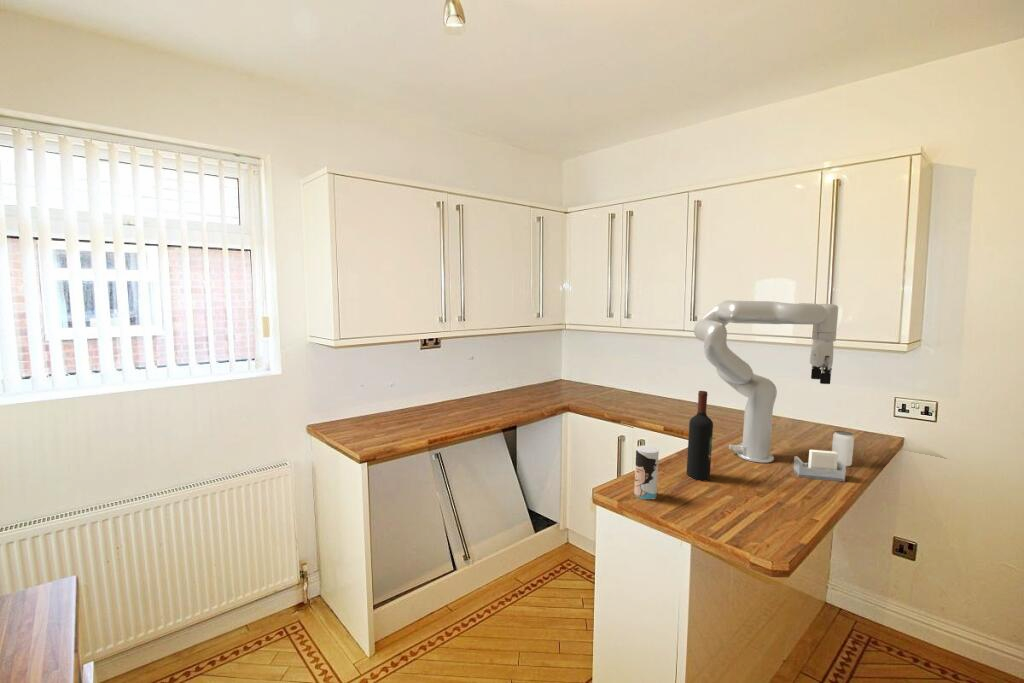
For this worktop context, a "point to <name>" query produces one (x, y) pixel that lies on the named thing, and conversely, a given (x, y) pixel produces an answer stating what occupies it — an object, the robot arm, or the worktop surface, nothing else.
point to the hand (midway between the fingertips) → (820, 381)
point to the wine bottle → (700, 442)
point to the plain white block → (823, 459)
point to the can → (843, 446)
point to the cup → (646, 472)
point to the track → (819, 471)
